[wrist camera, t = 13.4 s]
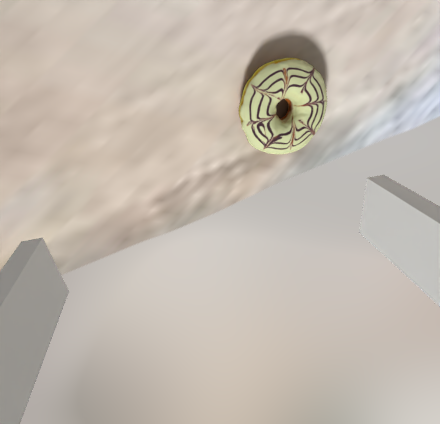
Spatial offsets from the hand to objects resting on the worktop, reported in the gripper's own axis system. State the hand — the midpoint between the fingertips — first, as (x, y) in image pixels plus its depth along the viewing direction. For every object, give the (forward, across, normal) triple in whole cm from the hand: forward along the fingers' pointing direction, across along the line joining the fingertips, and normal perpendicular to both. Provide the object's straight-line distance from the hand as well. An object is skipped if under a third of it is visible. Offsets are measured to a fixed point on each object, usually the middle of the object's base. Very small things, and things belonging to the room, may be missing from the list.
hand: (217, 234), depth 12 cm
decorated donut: (+27, +12, -1) cm, 30 cm away
